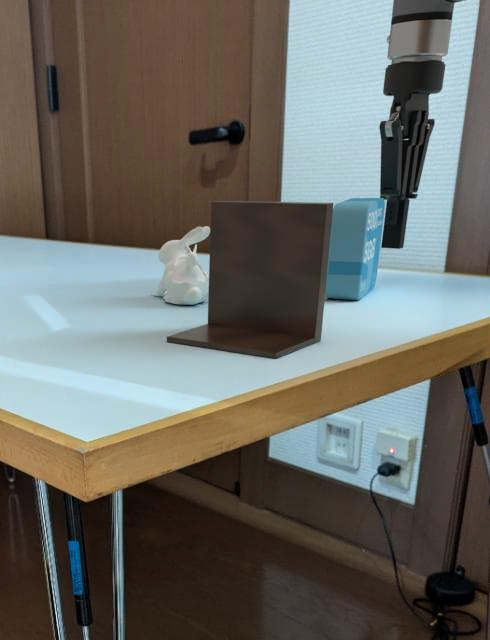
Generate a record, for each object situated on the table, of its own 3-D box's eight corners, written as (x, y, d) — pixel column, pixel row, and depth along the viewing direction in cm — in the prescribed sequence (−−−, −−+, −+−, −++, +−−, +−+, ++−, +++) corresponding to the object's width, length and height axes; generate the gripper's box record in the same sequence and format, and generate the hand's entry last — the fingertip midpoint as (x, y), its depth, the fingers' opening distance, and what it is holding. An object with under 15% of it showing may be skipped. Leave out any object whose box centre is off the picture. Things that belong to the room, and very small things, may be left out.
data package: (357, 302, 106) (368, 204, 101) (323, 300, 108) (332, 204, 103) (375, 287, 115) (386, 197, 110) (343, 285, 117) (352, 197, 112)
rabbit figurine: (149, 294, 117) (149, 224, 113) (198, 290, 118) (200, 220, 114) (175, 309, 106) (176, 232, 102) (228, 304, 108) (231, 228, 103)
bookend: (321, 340, 88) (333, 202, 81) (276, 358, 81) (286, 210, 75) (214, 326, 96) (218, 200, 90) (166, 341, 90) (167, 207, 84)
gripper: (408, 65, 113) (386, 241, 124) (367, 62, 105) (347, 251, 116) (463, 60, 109) (435, 243, 119) (424, 57, 100) (398, 254, 111)
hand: (392, 247), depth 117 cm, fingers closed
